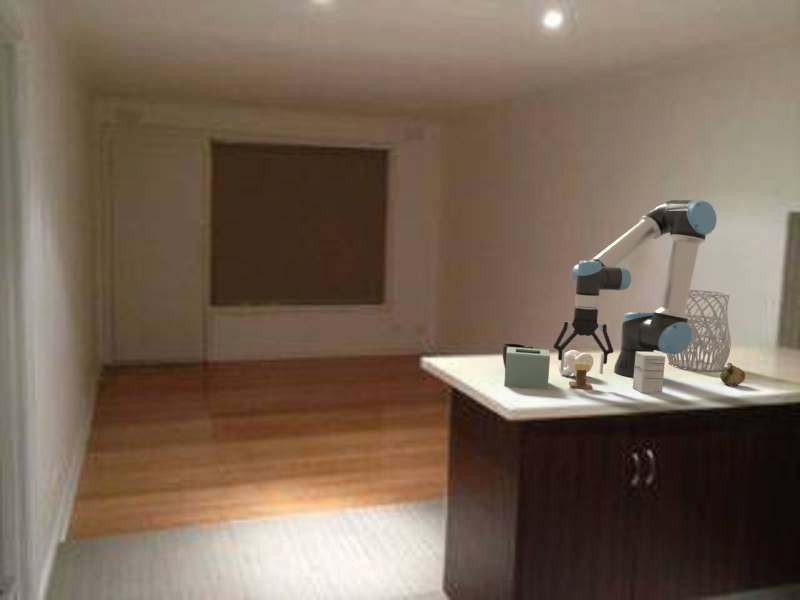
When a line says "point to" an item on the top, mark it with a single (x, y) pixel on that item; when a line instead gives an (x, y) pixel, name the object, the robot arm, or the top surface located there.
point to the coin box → (527, 368)
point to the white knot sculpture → (570, 359)
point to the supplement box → (648, 372)
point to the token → (581, 365)
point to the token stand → (580, 381)
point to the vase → (719, 358)
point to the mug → (511, 346)
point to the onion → (732, 375)
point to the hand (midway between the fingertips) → (581, 371)
